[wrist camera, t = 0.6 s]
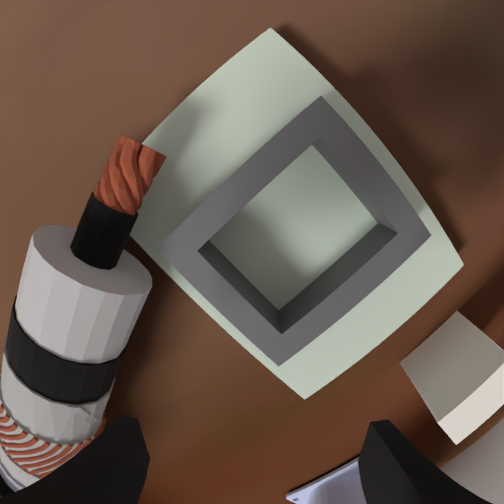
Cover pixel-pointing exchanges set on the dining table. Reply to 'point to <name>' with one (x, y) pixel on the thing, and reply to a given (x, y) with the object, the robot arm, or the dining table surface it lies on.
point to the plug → (458, 376)
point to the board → (289, 217)
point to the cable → (73, 324)
